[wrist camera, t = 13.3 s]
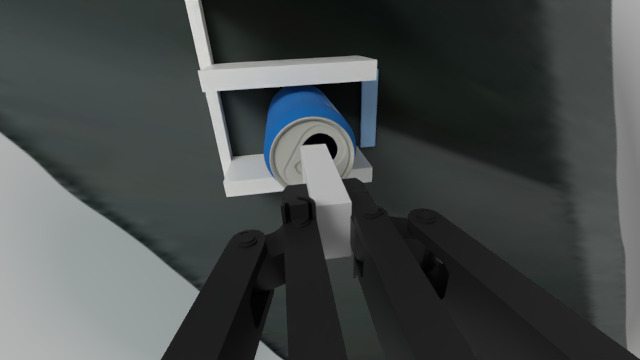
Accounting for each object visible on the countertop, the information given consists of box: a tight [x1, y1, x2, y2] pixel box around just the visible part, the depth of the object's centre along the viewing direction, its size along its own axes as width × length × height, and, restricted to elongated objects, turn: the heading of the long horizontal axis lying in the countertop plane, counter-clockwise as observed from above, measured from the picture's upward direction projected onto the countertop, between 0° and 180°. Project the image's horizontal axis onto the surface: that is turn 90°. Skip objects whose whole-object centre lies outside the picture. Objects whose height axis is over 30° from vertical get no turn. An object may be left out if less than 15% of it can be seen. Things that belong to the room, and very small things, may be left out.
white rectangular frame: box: [185, 0, 377, 197], centre depth 23 cm, size 28×14×6 cm, turn 3°
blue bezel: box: [360, 69, 378, 148], centre depth 30 cm, size 8×2×1 cm, turn 3°
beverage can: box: [264, 85, 356, 188], centre depth 24 cm, size 6×6×12 cm
